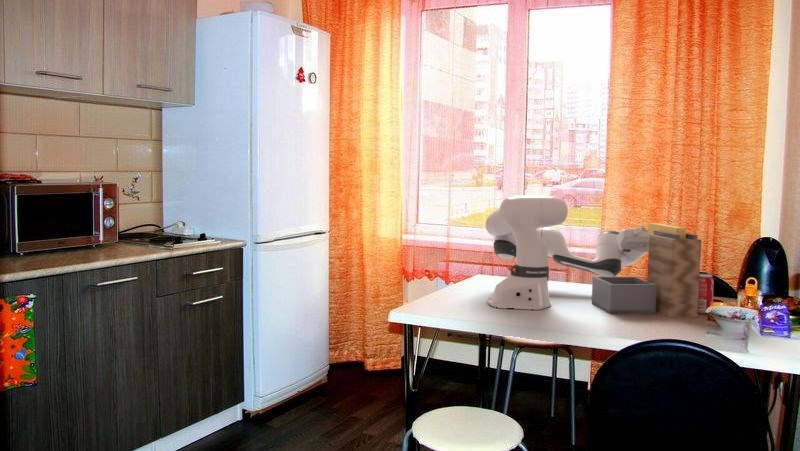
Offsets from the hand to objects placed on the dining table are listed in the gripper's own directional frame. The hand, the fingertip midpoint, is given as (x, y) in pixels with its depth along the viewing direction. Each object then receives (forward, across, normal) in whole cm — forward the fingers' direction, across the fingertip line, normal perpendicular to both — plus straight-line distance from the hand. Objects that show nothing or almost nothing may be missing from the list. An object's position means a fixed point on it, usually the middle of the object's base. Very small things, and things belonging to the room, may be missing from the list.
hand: (655, 228), depth 232 cm
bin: (-6, +15, -28) cm, 33 cm away
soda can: (-2, -11, -31) cm, 33 cm away
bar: (+6, 0, -6) cm, 8 cm away
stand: (-2, 0, -31) cm, 31 cm away
